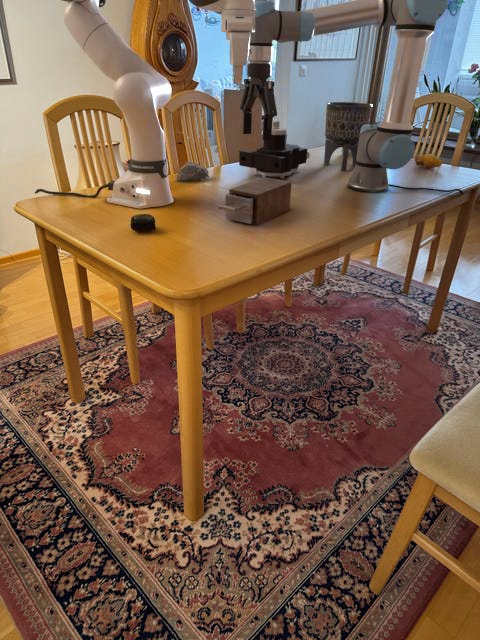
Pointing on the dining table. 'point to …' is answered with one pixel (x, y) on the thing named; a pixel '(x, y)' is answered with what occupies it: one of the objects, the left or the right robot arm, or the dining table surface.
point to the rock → (192, 172)
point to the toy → (428, 161)
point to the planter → (344, 129)
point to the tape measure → (142, 222)
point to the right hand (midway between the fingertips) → (256, 137)
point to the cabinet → (266, 197)
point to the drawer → (239, 208)
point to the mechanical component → (275, 155)
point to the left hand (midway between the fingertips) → (237, 84)
